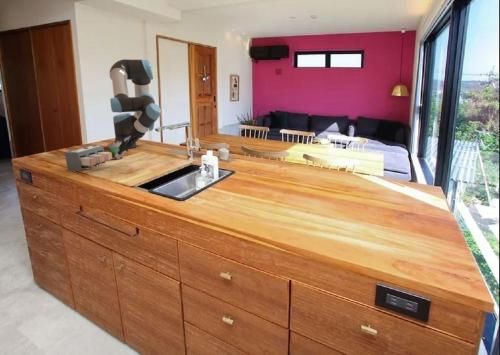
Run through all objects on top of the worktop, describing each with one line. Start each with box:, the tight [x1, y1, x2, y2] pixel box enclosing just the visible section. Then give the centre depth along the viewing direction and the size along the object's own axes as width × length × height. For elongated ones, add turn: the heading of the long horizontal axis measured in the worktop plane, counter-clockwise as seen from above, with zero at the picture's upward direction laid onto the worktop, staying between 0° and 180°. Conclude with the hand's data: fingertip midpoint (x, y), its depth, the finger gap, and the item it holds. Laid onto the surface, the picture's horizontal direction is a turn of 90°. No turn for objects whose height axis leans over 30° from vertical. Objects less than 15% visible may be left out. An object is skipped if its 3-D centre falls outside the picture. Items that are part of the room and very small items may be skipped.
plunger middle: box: [89, 154, 104, 164], centre depth 180 cm, size 8×4×4 cm, turn 74°
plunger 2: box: [98, 151, 112, 161], centre depth 186 cm, size 8×4×4 cm, turn 74°
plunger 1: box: [80, 157, 96, 167], centre depth 174 cm, size 8×4×4 cm, turn 74°
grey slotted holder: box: [64, 144, 106, 172], centre depth 182 cm, size 8×19×10 cm, turn 164°
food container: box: [107, 141, 123, 161], centre depth 200 cm, size 12×6×10 cm, turn 179°
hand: (117, 157), depth 183 cm, fingers closed
